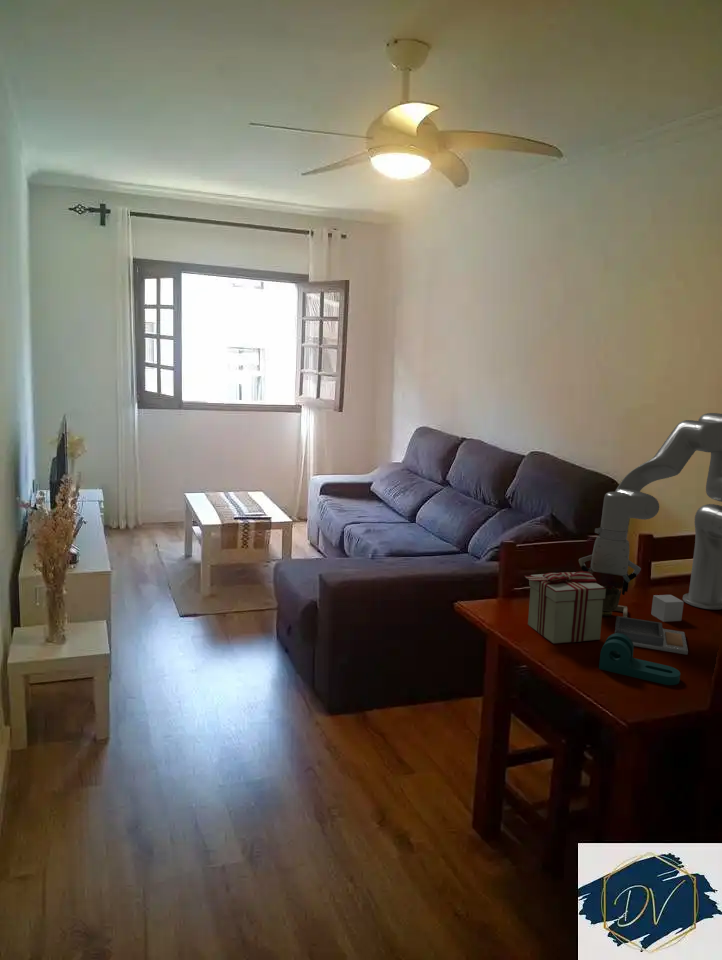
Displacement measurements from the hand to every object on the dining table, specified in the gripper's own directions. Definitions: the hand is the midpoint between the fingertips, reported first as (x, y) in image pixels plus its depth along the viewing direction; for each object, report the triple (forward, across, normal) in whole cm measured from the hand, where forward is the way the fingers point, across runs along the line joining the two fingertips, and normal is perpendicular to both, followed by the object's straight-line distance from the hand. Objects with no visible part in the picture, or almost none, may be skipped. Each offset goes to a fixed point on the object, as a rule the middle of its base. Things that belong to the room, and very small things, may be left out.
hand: (605, 590), depth 212 cm
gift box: (+8, -11, -18) cm, 23 cm away
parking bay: (+7, +1, +1) cm, 8 cm away
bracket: (+8, +10, -37) cm, 39 cm away
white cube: (+7, +18, +7) cm, 20 cm away
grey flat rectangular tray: (+7, +13, -13) cm, 20 cm away
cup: (+8, +1, +1) cm, 8 cm away
